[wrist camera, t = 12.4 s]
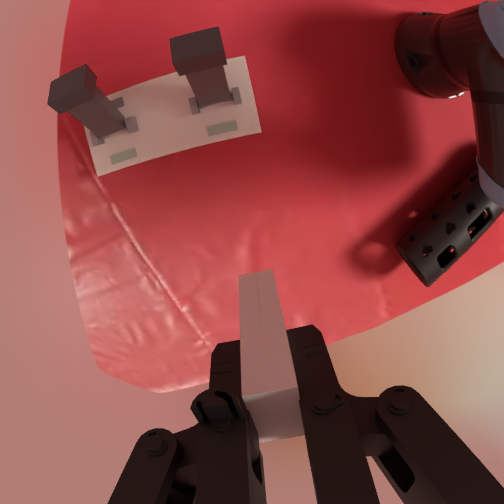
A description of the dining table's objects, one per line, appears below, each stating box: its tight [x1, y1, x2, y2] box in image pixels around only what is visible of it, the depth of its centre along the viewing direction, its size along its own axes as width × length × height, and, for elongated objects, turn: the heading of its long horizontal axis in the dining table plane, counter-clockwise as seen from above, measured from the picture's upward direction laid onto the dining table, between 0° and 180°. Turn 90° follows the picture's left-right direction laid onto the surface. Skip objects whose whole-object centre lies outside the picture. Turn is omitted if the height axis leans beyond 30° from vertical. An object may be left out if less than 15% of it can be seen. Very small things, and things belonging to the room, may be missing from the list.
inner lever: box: [170, 27, 231, 107], centre depth 27 cm, size 3×4×11 cm
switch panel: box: [84, 56, 261, 177], centre depth 36 cm, size 10×22×8 cm, turn 102°
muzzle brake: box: [396, 165, 504, 287], centre depth 42 cm, size 10×28×10 cm, turn 133°
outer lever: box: [48, 64, 125, 138], centre depth 27 cm, size 3×4×11 cm
